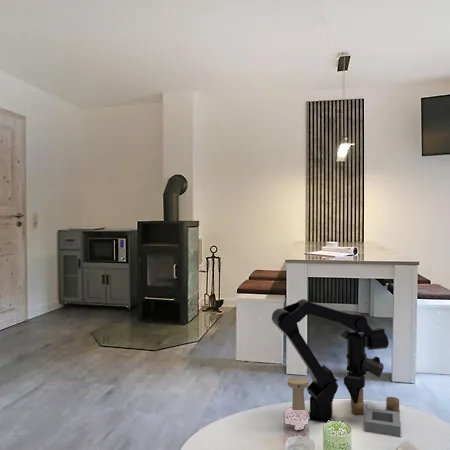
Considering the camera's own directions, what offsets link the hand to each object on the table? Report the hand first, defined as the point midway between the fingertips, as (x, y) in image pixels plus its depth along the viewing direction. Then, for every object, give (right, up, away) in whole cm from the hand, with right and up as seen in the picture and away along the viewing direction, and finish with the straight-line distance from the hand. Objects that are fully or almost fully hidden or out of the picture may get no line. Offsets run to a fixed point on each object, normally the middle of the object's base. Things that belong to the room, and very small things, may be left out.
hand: (356, 397), depth 141 cm
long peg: (0, -5, 0) cm, 5 cm away
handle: (-21, -6, -10) cm, 24 cm away
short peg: (+12, -5, +1) cm, 13 cm away
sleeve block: (+5, -5, -9) cm, 12 cm away
